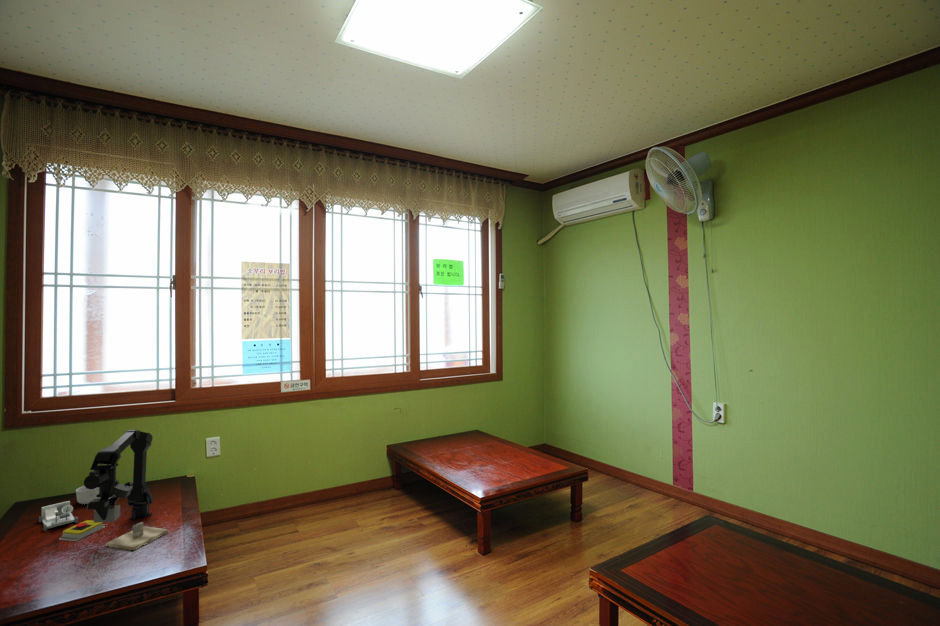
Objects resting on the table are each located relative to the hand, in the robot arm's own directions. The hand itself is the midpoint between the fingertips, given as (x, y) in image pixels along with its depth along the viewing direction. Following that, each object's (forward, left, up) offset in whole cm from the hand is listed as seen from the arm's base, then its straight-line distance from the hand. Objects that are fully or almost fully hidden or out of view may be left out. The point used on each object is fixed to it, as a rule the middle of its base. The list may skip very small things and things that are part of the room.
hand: (107, 517), depth 197 cm
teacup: (-31, -49, -11) cm, 60 cm away
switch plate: (-5, +10, -11) cm, 16 cm away
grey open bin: (0, 0, -1) cm, 1 cm away
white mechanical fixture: (-9, -39, -12) cm, 41 cm away
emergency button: (-5, -19, -12) cm, 23 cm away
